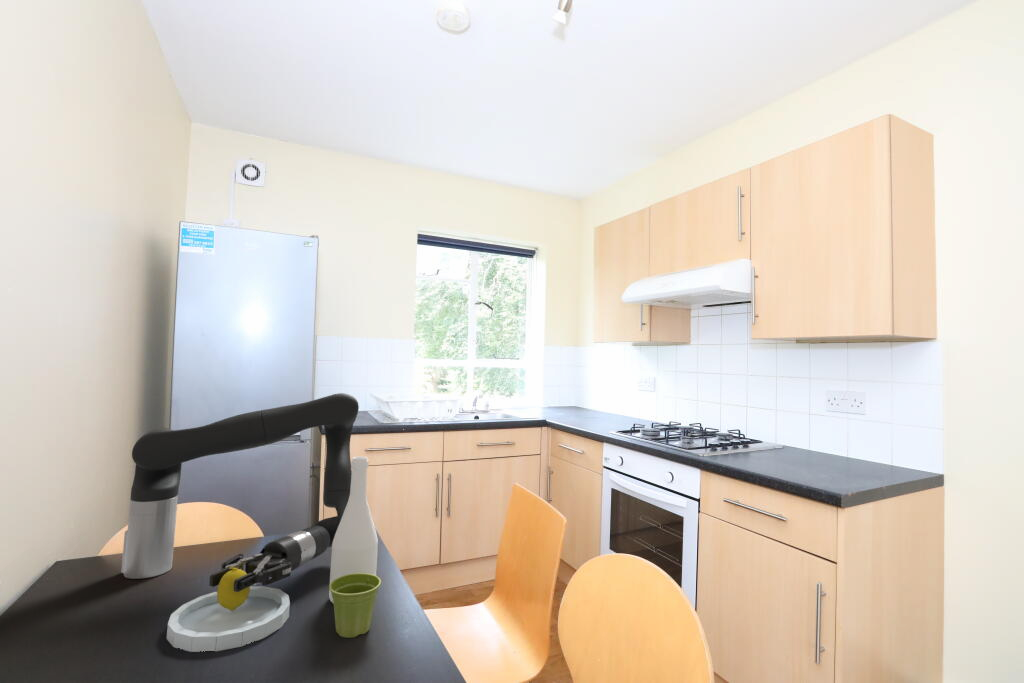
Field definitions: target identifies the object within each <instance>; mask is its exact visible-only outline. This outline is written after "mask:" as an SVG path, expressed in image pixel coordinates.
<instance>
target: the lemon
mask: <svg viewBox="0 0 1024 683" xmlns="http://www.w3.org/2000/svg"><path fill="white" fill-rule="evenodd" d="M246 574H247V573H246V572H245V570H241V569H237V568H233V569H232V570H231V571H229V572H227V573H226V574H225V575H224V576H223V577H222V578H221V580H220V582H219V585H217V591H216V592H217V599H218V602H219V604H220V605H221V606H222V607H223V608H226V609H229V610H230V611H234V610H235V609H236V608H237V607H239V606H240V605H242V604H243V603H244V602H245V600H246V599H247V597H248V595H249V591H250V586H249V587H247V588H245V589H243V590H241V591H239V592H235V591H234V581H235V580H236V579H238V578H240V577H242V576H244V575H246Z"/></svg>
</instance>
